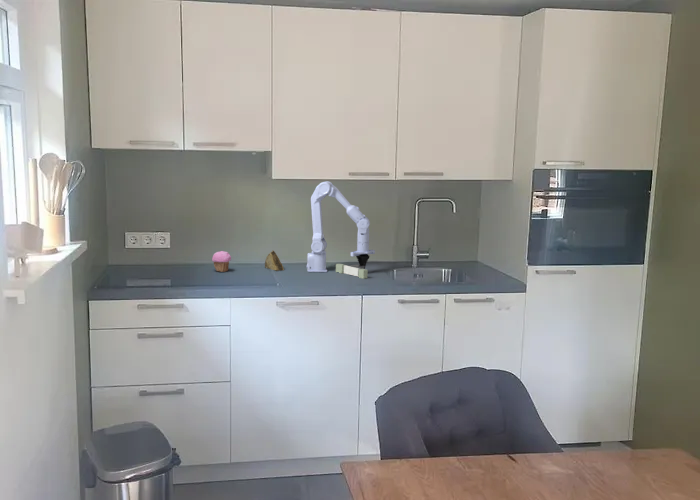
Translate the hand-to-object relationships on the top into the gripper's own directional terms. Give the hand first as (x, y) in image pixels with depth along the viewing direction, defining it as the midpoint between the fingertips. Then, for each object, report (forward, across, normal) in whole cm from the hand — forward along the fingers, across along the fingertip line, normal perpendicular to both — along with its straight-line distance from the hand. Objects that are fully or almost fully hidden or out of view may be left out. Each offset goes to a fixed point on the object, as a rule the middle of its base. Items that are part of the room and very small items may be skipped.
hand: (362, 269), depth 321 cm
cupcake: (+2, -54, +41) cm, 68 cm away
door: (+1, -8, -2) cm, 8 cm away
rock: (+2, -30, +33) cm, 44 cm away
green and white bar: (+2, -8, -1) cm, 8 cm away
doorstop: (+2, -4, 0) cm, 4 cm away
